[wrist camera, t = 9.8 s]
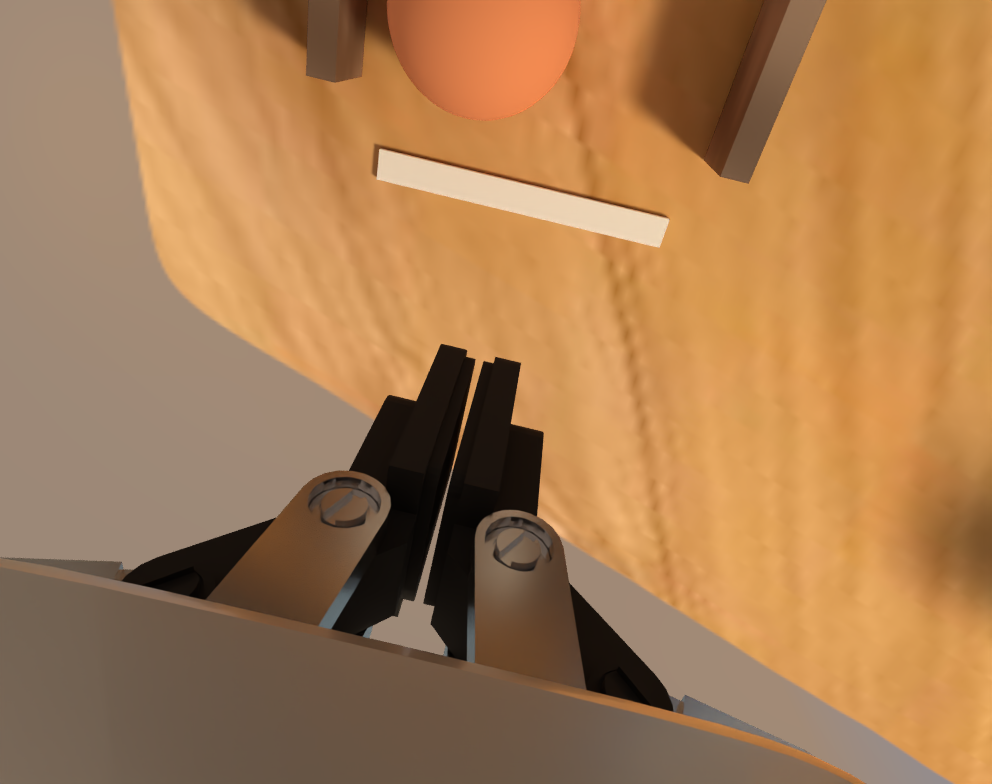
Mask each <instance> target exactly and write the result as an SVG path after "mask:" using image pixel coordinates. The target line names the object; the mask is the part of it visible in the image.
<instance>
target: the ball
mask: <svg viewBox="0 0 992 784" xmlns="http://www.w3.org/2000/svg"><path fill="white" fill-rule="evenodd" d="M387 18H388V25H389V31H390V35H391V39H392V43H393V46H394V49H395V52H396V54H397V56H398V59H399V61H400V63H401V65H402V67H403V69H404V71H405V72H406V74H407V75H408V77H409V78H410V80H411V81H412V82H413V84H414V85H415V86H416V87H417V89H418V90H419V91H420V92H421V93H422V94H423V95H424V96H426V97H427V98H428V99H429V100H430V101H431V102H433V103H434V104H435V105H437V106H438V107H440V108H442V109H443V110H445V111H447V112H449V113H452V114H454V115H457V116H460V117H463V118H467V119H472V120H485V121H486V120H497V119H501V118H506V117H510V116H513V115H515V114H518V113H520V112H522V111H524V110H526V109H527V108H529V107H531V106H532V105H533V104H535V103H536V102H537V101H539V100H540V99H541V98H542V97H543V96H544V95H546V94H547V93H548V92H549V91H550V89H551V88H552V87H553V86H554V85H555V83H556V82H557V81H558V79H559V78H560V76H561V75H562V73H563V71H564V69H565V68H566V66H567V64H568V62H569V59H570V57H571V55H572V52H573V49H574V45H575V42H576V38H577V33H578V28H579V20H580V0H387Z"/></svg>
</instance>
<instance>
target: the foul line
mask: <svg viewBox="0 0 992 784" xmlns="http://www.w3.org/2000/svg"><path fill="white" fill-rule="evenodd" d="M377 180H381V181H385V182H390V183H394V184H398V185H402V186H406V187H410V188H414V189H419V190H423V191H427V192H431V193H435V194H439V195H443V196H447V197H452V198H456V199H460V200H464V201H468V202H472V203H476V204H481V205H485V206H489V207H493V208H497V209H501V210H505V211H510V212H514V213H518V214H522V215H526V216H530V217H534V218H538V219H543V220H547V221H551V222H555V223H559V224H563V225H567V226H572V227H576V228H580V229H584V230H588V231H592V232H596V233H600V234H605V235H609V236H613V237H617V238H621V239H625V240H629V241H634V242H638V243H642V244H646V245H650V246H654V247H658V248H659V247H660V245H661V242H662V239H663V236H664V234H665V231H666V228H667V225H668V223H669V220H670V219H669V218H667V217H662V216H658V215H654V214H650V213H646V212H642V211H638V210H634V209H629V208H625V207H621V206H617V205H613V204H609V203H605V202H601V201H597V200H592V199H588V198H584V197H580V196H576V195H572V194H568V193H564V192H559V191H555V190H551V189H547V188H543V187H539V186H535V185H531V184H527V183H522V182H518V181H514V180H510V179H506V178H502V177H498V176H494V175H489V174H485V173H481V172H477V171H473V170H469V169H465V168H461V167H456V166H452V165H448V164H444V163H440V162H436V161H432V160H428V159H424V158H419V157H415V156H411V155H407V154H403V153H399V152H395V151H391V150H386V149H382V148H380V149H379V160H378V170H377Z"/></svg>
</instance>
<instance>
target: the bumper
mask: <svg viewBox="0 0 992 784" xmlns="http://www.w3.org/2000/svg"><path fill="white" fill-rule="evenodd" d="M825 3H826V0H764V3H763V5H762V8H761V10H760V13H759V16H758V18H757V21H756V24H755V26H754V29H753V32H752V34H751V37H750V40H749V42H748V45H747V48H746V50H745V53H744V55H743V58H742V61H741V63H740V66H739V69H738V71H737V74H736V77H735V79H734V82H733V85H732V87H731V90H730V92H729V95H728V98H727V100H726V103H725V106H724V108H723V111H722V114H721V116H720V119H719V122H718V124H717V127H716V130H715V132H714V135H713V137H712V140H711V143H710V145H709V148H708V151H707V153H706V156H705V159H704V161H705V162H706V163H707V164H708V165H709V166H710V167H711V168H712V169H713V170H714V171H715V172H716V173H717V174H718V175H719V176H720V177H724V178H728V179H732V180H736V181H740V182H744V183H748V184H749V181H750V179H751V177H752V174H753V172H754V170H755V167H756V165H757V163H758V160H759V158H760V156H761V153H762V151H763V149H764V146H765V144H766V141H767V139H768V137H769V134H770V132H771V130H772V127H773V125H774V123H775V120H776V118H777V116H778V113H779V111H780V109H781V106H782V104H783V101H784V99H785V97H786V94H787V92H788V90H789V87H790V85H791V83H792V80H793V78H794V76H795V73H796V71H797V69H798V66H799V64H800V62H801V59H802V57H803V54H804V52H805V50H806V47H807V45H808V43H809V40H810V38H811V36H812V33H813V31H814V29H815V26H816V24H817V22H818V19H819V17H820V14H821V12H822V10H823V7H824V5H825ZM366 13H367V0H309V1H308V33H307V65H306V76H310V77H314V78H318V79H322V80H327V81H331V82H340V81H344V80H348V79H353V78H357V77H362V66H363V52H364V39H365V26H366Z"/></svg>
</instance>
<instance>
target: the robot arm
mask: <svg viewBox="0 0 992 784" xmlns="http://www.w3.org/2000/svg"><path fill="white" fill-rule="evenodd" d="M466 355H467V350H465V349H461V348H457V347H453V346H448V345H444V344H441V345H440V348H439V350H438V352H437V355H436V357H435V359H434V362H433V364H432V366H431V369H430V371H429V373H428V376H427V378H426V380H425V383H424V385H423V387H422V389H421V392H420V394H419V396H418V399H417V401H413V400H409V399H404V398H400V397H396V396H392V395H389V396H387V398H386V400H385V401H384V403H383V405H382V407H381V409H380V411H379V413H378V415H377V417H376V419H375V421H374V423H373V425H372V427H371V429H370V431H369V433H368V434H367V437H366V438H365V440H364V442H363V444H362V446H361V448H360V450H359V452H358V454H357V456H356V458H355V460H354V462H353V464H352V466H351V468H350V470H349V471H334V472H329V473H324V474H322V475H320V476H317V477H315V478H313V479H312V480H311V481H309V482H308V483H307V484H306V485H305V486H303V488H302V489H301V490H300V491H299V492H298V494H297V495H296V496H295V497H294V498H293V499H292V500H291V501H290V503H289V504H288V505H287V506H286V507H285V508H284V510H283V511H282V512H281V513H280V514H279V515H278V516H277V518H274V519H271V520H268V521H265V522H262V523H259V524H256V525H253V526H250V527H247V528H244V529H241V530H238V531H235V532H232V533H229V534H226V535H223V536H220V537H217V538H214V539H211V540H208V541H205V542H202V543H199V544H196V545H193V546H190V547H187V548H184V549H181V550H178V551H175V552H172V553H169V554H166V555H163V556H160V557H157V558H155V559H152V560H150V561H148V562H146V563H144V564H141V565H140V566H138V567H137V568H136V569H134V570H126V569H125V570H124V569H123V565H122V562H113V561H85V560H57V559H30V558H2V557H0V784H866V783H864V782H862V781H861V780H859V779H858V778H856V777H854V776H852V775H851V774H849V773H847V772H845V771H843V770H841V769H839V768H837V767H835V766H832V765H830V764H829V763H827V762H824V761H822V760H820V759H818V758H816V757H815V756H813V755H812V754H810V753H809V752H807V751H805V750H803V749H801V748H799V747H797V746H795V745H793V744H790V743H788V742H786V741H784V740H782V739H780V738H778V737H775V736H773V735H771V734H769V733H766V732H764V731H762V730H760V729H758V728H756V727H754V726H751V725H749V724H747V723H745V722H743V721H741V720H739V719H736V718H734V717H732V716H730V715H728V714H726V713H723V712H721V711H719V710H717V709H715V708H712V707H710V706H708V705H706V704H704V703H702V702H700V701H697V700H695V699H693V698H691V697H689V696H687V695H685V696H684V697H683V699H682V700H681V701H680V700H678V699H676V698H674V697H671V696H669V695H668V693H667V690H666V689H665V687H664V686H663V684H662V683H661V682H660V680H659V679H658V678H657V676H656V675H655V674H654V673H653V672H652V671H651V670H650V669H649V668H648V666H647V665H646V664H645V663H644V662H643V661H642V660H641V659H640V658H639V657H638V656H637V655H636V654H635V653H634V652H633V651H632V649H631V648H630V647H629V646H628V645H627V644H626V643H625V642H624V641H623V640H622V639H621V638H620V637H619V635H618V634H617V633H616V632H615V631H614V630H613V629H612V628H611V627H610V626H609V625H608V624H607V623H606V622H605V621H604V619H602V617H601V616H600V615H599V614H598V613H597V612H596V611H595V610H594V609H593V608H592V607H591V606H590V604H589V603H587V602H586V600H585V599H584V598H583V597H582V596H581V595H580V594H579V593H578V592H577V591H576V590H575V589H574V587H573V586H572V585H571V584H570V583H569V580H568V573H567V567H566V561H565V555H564V548H563V545H562V542H561V540H560V537H559V536H558V534H557V533H556V532H555V530H554V529H553V528H552V527H551V526H550V525H549V524H547V523H546V522H545V521H544V520H542V519H541V518H539V517H537V509H538V497H539V485H540V473H541V461H542V449H543V435H544V433H543V432H542V431H538V430H533V429H529V428H525V427H521V426H517V425H513V424H511V419H512V413H513V407H514V401H515V395H516V389H517V383H518V377H519V371H520V365H521V363H519V362H515V361H511V360H506V359H502V358H498V357H495V361H494V363H489V362H485V361H484V362H483V365H482V369H481V372H480V376H479V379H478V383H477V387H476V390H475V394H474V397H473V401H472V404H471V408H470V412H469V415H468V419H467V422H466V426H465V429H464V433H463V437H462V440H461V444H460V447H459V451H458V454H457V458H456V461H455V465H454V469H453V472H452V476H451V481H450V485H449V489H448V493H447V497H446V502H445V507H444V511H443V515H442V521H441V525H440V529H439V534H438V538H437V543H436V548H435V552H434V557H433V561H432V566H431V570H430V575H429V580H428V585H427V589H426V593H425V598H424V604H427V605H431V606H435V607H434V611H433V615H432V620H431V625H432V626H433V628H434V629H435V630H436V632H437V633H438V635H439V636H440V637H441V639H442V640H443V642H444V643H445V645H446V646H445V650H444V655H443V656H442V655H438V654H434V653H429V652H425V651H421V650H417V649H413V648H408V647H403V646H400V645H396V644H391V643H387V642H383V641H378V640H374V639H370V635H371V632H372V627H373V625H375V624H377V623H379V622H381V621H383V620H385V619H387V618H389V617H391V616H396V617H398V614H399V611H400V608H401V604H402V601H403V599H406V600H411V601H414V600H415V597H416V593H417V590H418V586H419V582H420V579H421V576H422V572H423V568H424V565H425V561H426V558H427V554H428V551H429V547H430V544H431V540H432V537H433V533H434V530H435V526H436V523H437V519H438V515H439V512H440V509H441V505H442V501H443V498H444V495H445V491H446V488H447V484H448V481H449V477H450V473H451V470H452V466H453V461H454V457H455V452H456V448H457V443H458V439H459V434H460V429H461V425H462V420H463V416H464V411H465V406H466V402H467V397H468V393H469V388H470V383H471V379H472V374H473V370H474V365H475V359H473V358H469V357H466Z"/></svg>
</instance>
